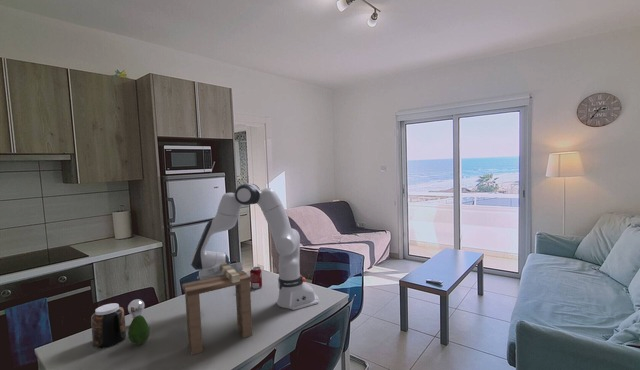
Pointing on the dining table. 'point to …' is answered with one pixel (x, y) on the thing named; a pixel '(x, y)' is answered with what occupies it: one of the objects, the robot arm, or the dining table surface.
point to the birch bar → (230, 272)
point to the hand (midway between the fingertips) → (224, 266)
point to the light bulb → (136, 308)
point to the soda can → (256, 277)
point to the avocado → (138, 330)
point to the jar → (108, 326)
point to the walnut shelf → (213, 284)
